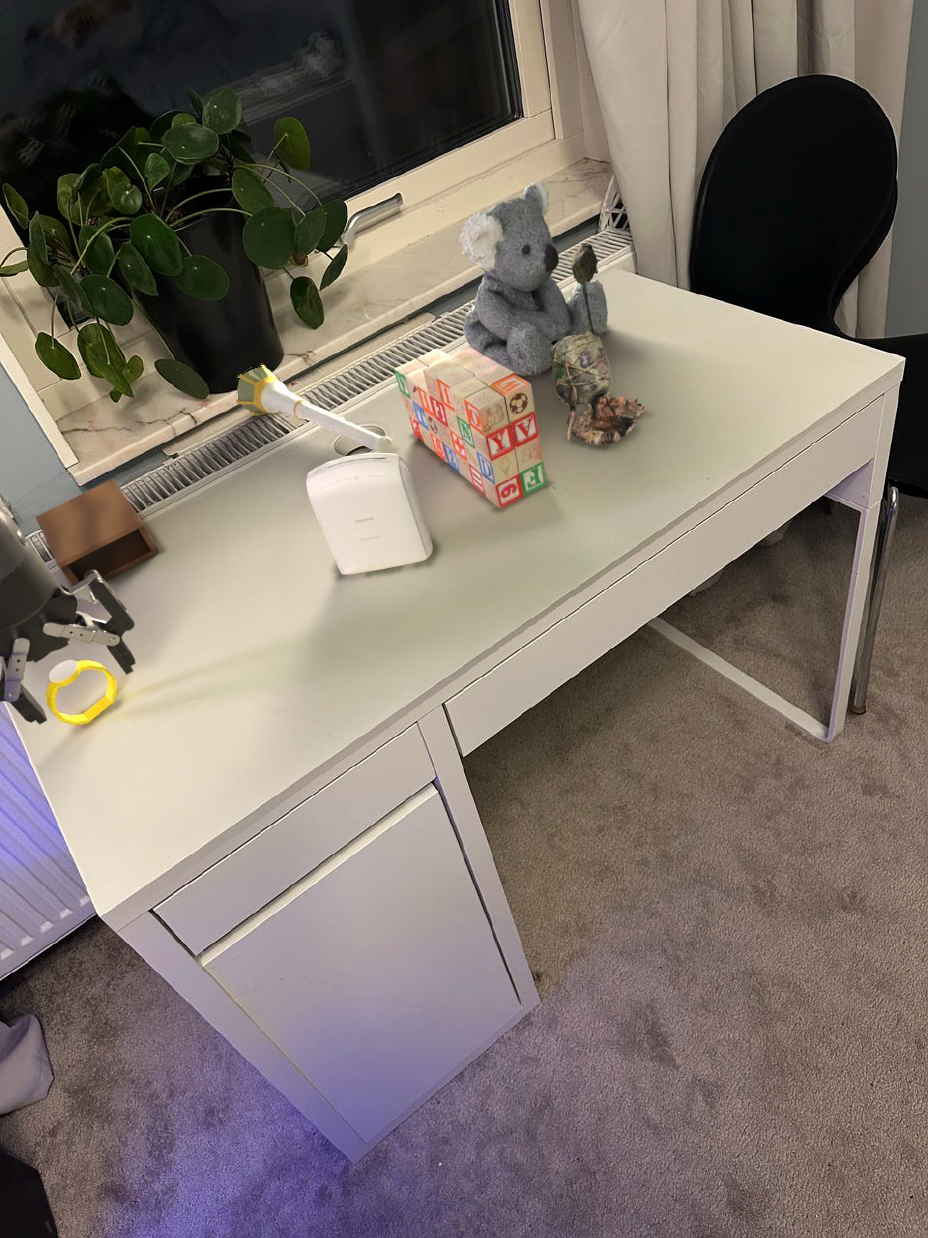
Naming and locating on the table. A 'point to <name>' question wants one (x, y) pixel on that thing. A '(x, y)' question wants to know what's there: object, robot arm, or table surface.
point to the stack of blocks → (476, 420)
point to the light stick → (299, 408)
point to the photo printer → (369, 512)
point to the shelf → (113, 556)
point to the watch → (65, 676)
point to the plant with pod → (590, 374)
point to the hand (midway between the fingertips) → (85, 692)
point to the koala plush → (522, 286)
